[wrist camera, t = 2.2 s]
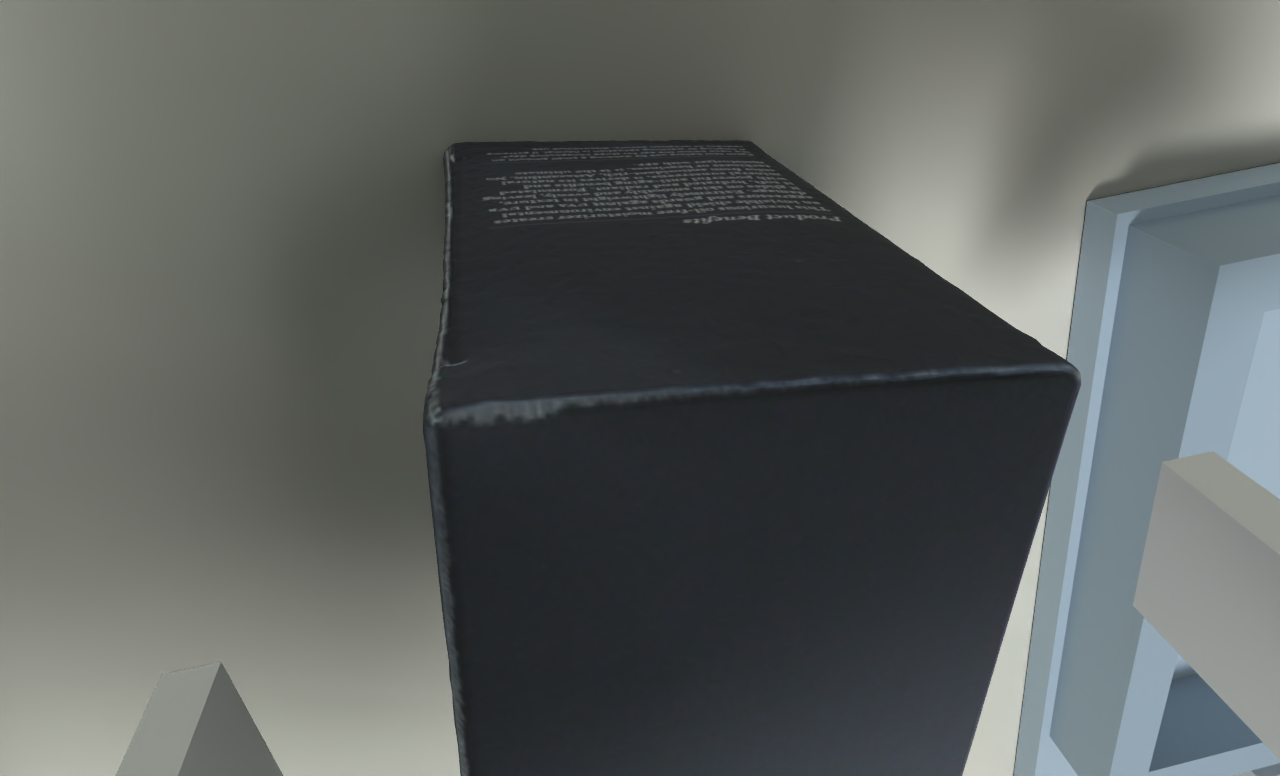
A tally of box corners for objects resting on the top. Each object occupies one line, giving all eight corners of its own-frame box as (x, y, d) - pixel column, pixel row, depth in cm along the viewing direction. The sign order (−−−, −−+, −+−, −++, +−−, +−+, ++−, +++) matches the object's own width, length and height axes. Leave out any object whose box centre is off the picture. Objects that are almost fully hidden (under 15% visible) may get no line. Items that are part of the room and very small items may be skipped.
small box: (734, 554, 22) (923, 1007, 12) (475, 579, 20) (476, 1093, 11) (774, 132, 17) (1140, 373, 7) (435, 136, 16) (380, 423, 6)
